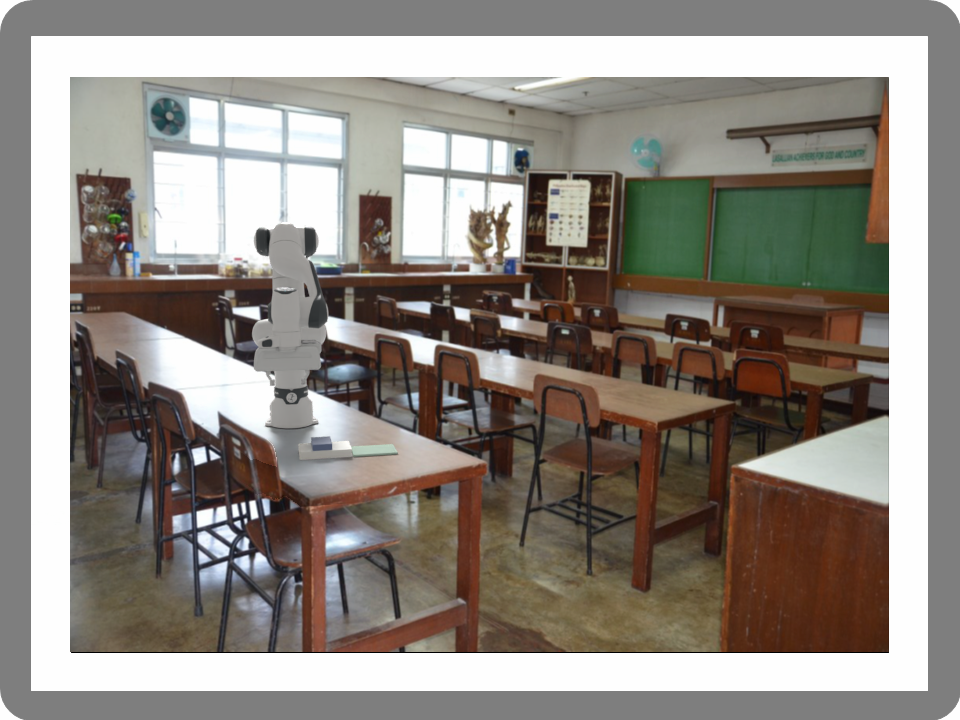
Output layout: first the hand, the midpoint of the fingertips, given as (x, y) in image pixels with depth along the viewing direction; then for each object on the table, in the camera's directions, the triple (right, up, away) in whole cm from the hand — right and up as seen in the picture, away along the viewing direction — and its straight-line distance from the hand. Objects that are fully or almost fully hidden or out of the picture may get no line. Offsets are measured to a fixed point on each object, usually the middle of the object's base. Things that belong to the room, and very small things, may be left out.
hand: (288, 384), depth 243 cm
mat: (+25, -22, +10) cm, 35 cm away
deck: (+10, -22, +6) cm, 25 cm away
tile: (+9, -20, +5) cm, 22 cm away
